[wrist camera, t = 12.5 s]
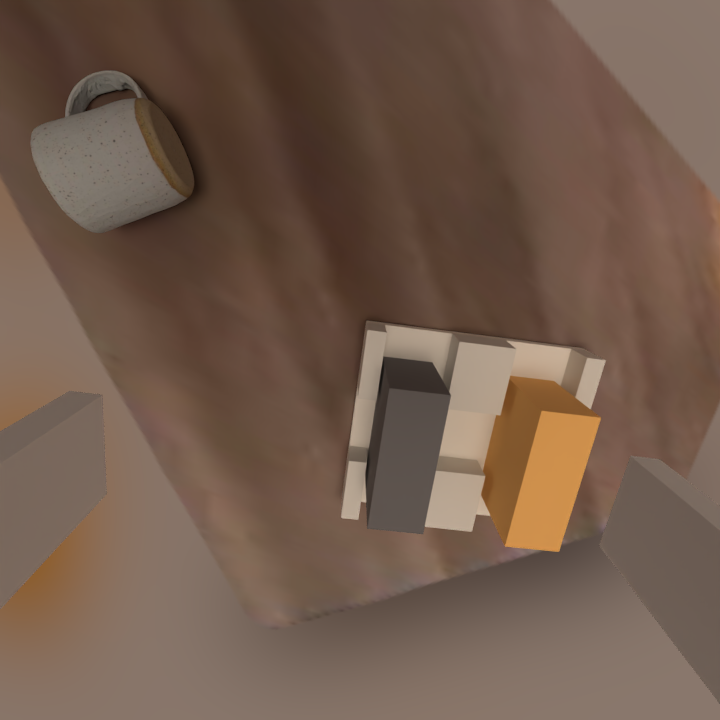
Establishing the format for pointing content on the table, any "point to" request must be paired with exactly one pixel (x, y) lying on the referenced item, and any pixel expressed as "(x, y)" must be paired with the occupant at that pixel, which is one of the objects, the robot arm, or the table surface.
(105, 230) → the ceramic mug
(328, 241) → the table surface
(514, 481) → the tall orange brick
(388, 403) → the dark gray brick
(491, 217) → the table surface
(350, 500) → the rack
